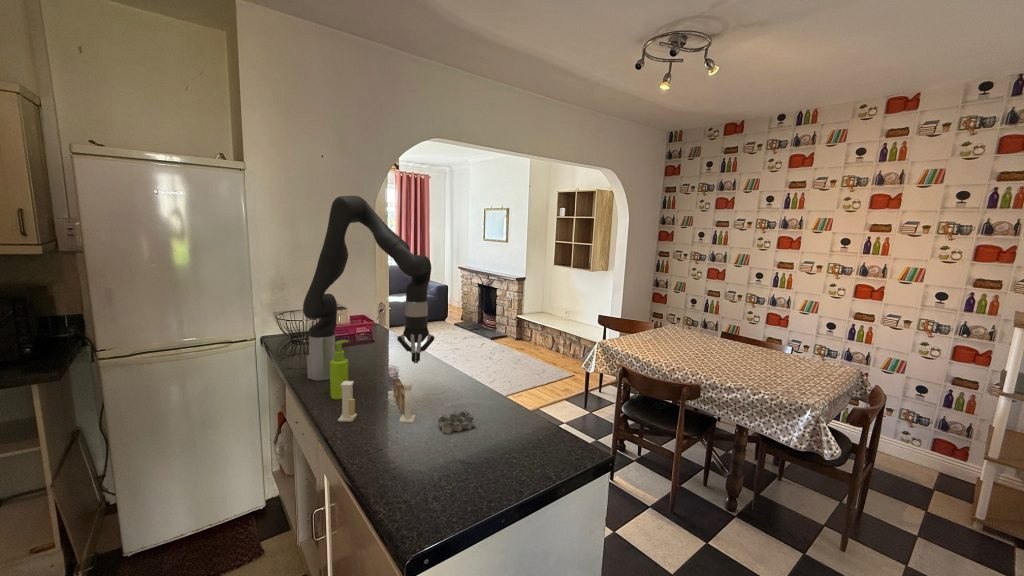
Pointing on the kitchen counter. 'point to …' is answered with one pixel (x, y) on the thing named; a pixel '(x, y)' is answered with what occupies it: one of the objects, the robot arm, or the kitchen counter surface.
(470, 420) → the egg carton
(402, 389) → the gate
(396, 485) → the kitchen counter surface
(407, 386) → the hinge post
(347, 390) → the post
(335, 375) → the soap dispenser
